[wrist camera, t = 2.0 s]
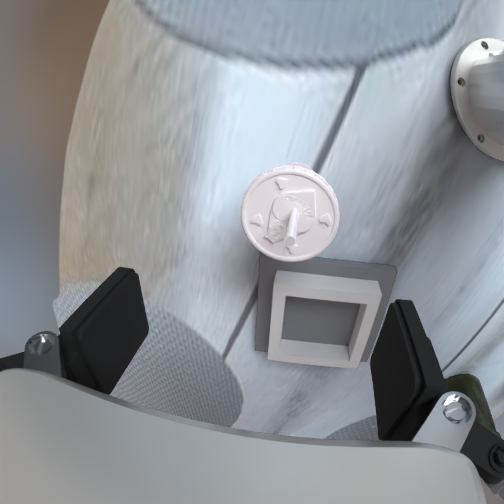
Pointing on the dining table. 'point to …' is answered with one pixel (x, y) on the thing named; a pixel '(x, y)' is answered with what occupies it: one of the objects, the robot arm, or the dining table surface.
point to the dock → (321, 310)
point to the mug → (473, 397)
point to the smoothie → (290, 213)
